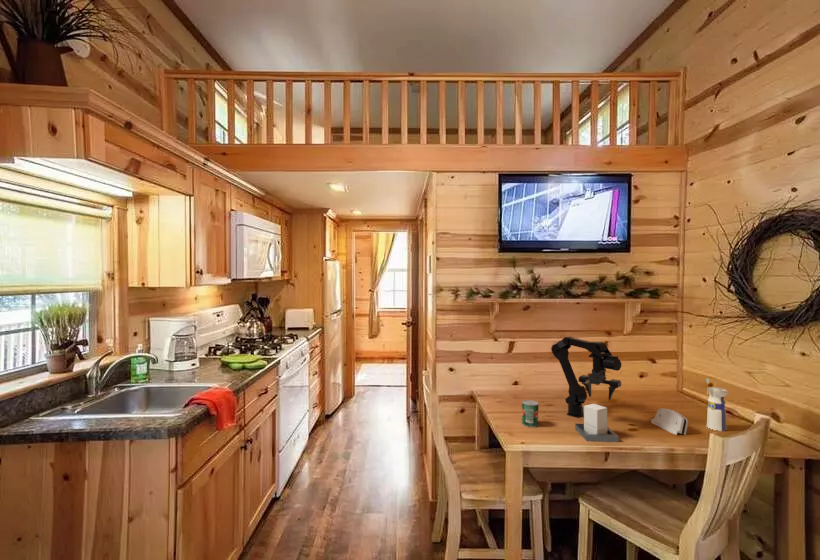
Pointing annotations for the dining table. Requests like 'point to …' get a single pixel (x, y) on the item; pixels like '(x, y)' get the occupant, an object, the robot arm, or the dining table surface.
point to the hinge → (670, 421)
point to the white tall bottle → (716, 408)
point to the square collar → (597, 435)
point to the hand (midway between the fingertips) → (599, 398)
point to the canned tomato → (530, 413)
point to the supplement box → (595, 419)
